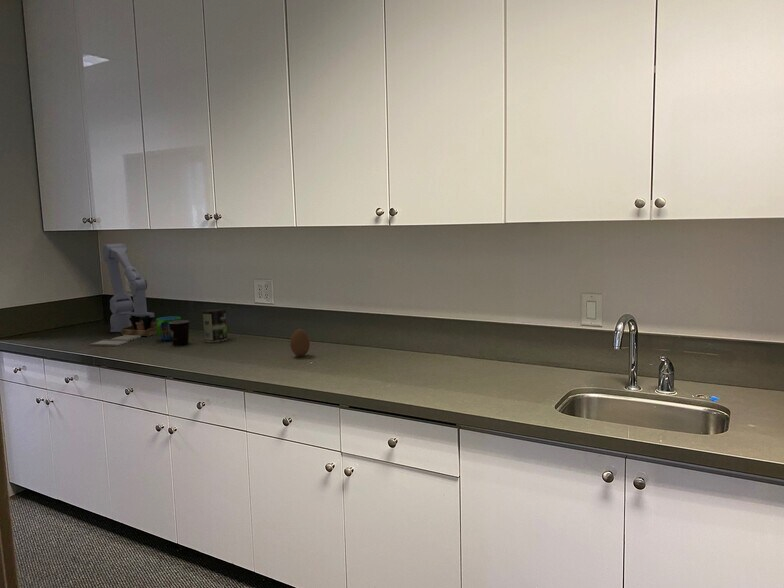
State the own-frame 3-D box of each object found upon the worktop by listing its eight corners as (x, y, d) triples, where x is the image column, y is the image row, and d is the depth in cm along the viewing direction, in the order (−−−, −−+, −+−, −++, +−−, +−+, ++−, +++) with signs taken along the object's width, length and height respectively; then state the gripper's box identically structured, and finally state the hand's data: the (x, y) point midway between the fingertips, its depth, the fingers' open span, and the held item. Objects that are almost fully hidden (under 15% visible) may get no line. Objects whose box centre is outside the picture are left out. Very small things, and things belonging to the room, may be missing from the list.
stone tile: (111, 340, 286) (111, 338, 286) (125, 336, 294) (125, 334, 294) (126, 341, 283) (126, 339, 283) (140, 337, 291) (140, 335, 291)
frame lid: (88, 345, 276) (88, 343, 276) (102, 341, 285) (102, 339, 285) (115, 346, 272) (115, 344, 272) (128, 342, 281) (128, 340, 281)
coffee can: (230, 337, 285) (228, 307, 283) (223, 342, 275) (221, 311, 273) (208, 338, 285) (206, 308, 283) (201, 342, 275) (198, 311, 273)
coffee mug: (170, 343, 276) (169, 321, 275) (190, 341, 279) (189, 319, 277) (169, 348, 265) (167, 325, 264) (190, 346, 268) (188, 324, 266)
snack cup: (173, 335, 294) (171, 314, 293) (190, 336, 290) (189, 315, 288) (148, 342, 280) (146, 320, 278) (166, 343, 276) (164, 321, 274)
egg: (314, 354, 245) (312, 328, 243) (303, 359, 238) (301, 331, 236) (298, 353, 248) (296, 326, 247) (287, 357, 241) (285, 330, 240)
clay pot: (133, 335, 298) (132, 322, 297) (142, 332, 303) (141, 320, 303) (143, 335, 296) (142, 322, 296) (151, 333, 302) (150, 320, 301)
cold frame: (121, 335, 297) (120, 325, 297) (137, 331, 308) (136, 321, 307) (147, 337, 292) (146, 326, 291) (163, 332, 302) (162, 322, 302)
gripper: (122, 304, 297) (124, 332, 298) (146, 305, 292) (148, 333, 294) (132, 302, 303) (135, 329, 305) (156, 303, 298) (158, 330, 300)
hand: (142, 331), depth 300 cm, fingers closed on clay pot, 5 cm apart
